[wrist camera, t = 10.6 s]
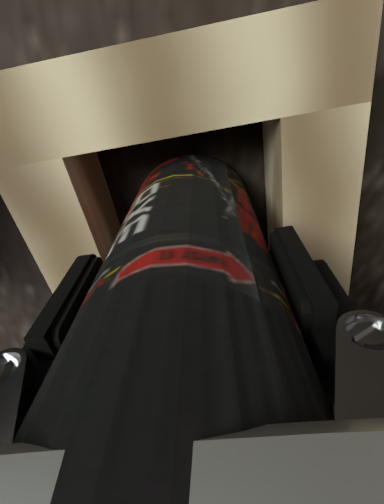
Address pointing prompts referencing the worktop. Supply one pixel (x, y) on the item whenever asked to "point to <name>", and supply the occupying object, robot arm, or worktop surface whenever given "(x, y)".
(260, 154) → the worktop surface
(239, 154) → the worktop surface
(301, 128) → the holder
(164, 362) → the deodorant
